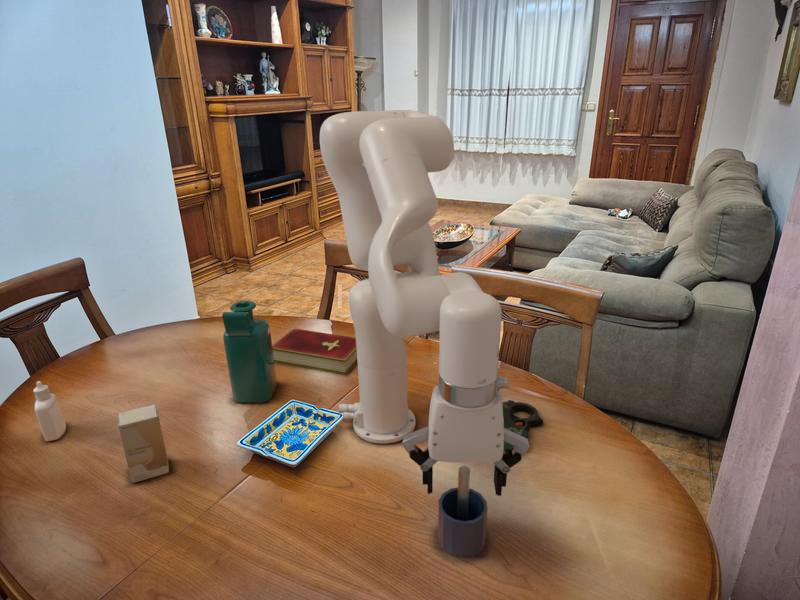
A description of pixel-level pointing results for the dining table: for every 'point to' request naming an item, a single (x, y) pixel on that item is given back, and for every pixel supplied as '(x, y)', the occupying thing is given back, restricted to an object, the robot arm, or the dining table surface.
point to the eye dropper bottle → (48, 413)
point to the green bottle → (249, 354)
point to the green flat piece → (519, 420)
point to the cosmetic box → (143, 443)
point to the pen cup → (462, 524)
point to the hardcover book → (316, 351)
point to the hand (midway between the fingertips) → (463, 487)
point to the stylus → (463, 493)
